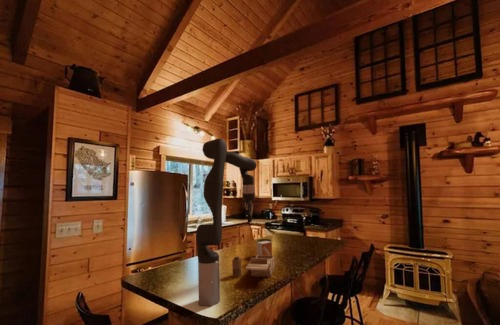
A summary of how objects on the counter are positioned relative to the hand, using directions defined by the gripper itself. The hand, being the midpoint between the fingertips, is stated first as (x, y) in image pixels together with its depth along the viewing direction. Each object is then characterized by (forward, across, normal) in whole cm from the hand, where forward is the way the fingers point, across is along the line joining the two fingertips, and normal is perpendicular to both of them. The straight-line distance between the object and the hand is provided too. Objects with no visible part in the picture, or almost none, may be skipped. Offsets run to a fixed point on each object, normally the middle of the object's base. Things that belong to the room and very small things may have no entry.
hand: (249, 222), depth 153 cm
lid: (+22, +9, +6) cm, 25 cm away
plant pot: (+29, -37, +1) cm, 47 cm away
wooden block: (+29, +6, -7) cm, 30 cm away
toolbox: (+29, -3, +6) cm, 30 cm away
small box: (+29, -22, +4) cm, 37 cm away
